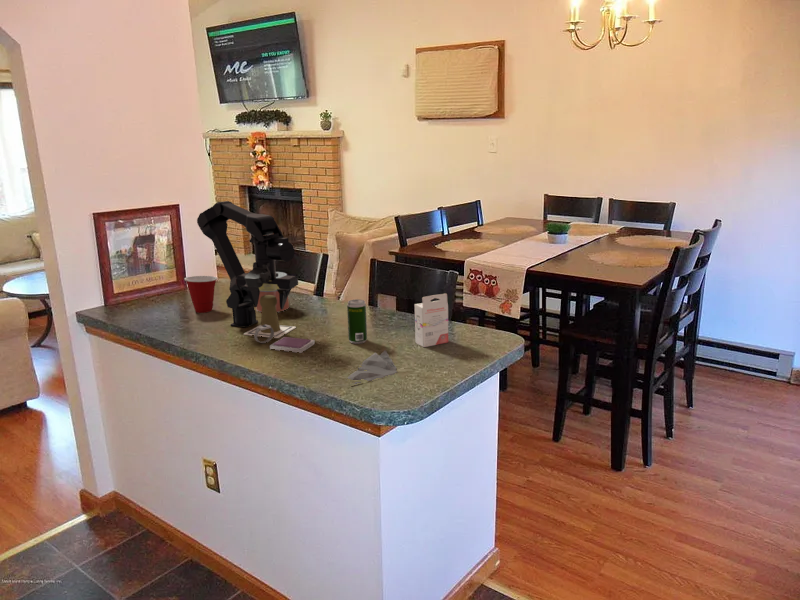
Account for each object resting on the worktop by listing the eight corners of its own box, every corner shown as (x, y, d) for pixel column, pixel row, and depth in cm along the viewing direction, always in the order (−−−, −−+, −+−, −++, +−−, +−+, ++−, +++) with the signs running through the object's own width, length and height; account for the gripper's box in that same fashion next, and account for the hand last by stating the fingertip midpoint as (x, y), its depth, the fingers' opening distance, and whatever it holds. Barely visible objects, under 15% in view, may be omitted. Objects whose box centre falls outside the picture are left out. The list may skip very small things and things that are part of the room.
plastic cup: (227, 308, 220) (223, 275, 217) (202, 316, 211) (199, 281, 208) (205, 304, 226) (202, 272, 222) (181, 312, 217) (177, 278, 214)
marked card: (243, 334, 191) (243, 333, 191) (263, 324, 201) (263, 323, 201) (278, 338, 187) (278, 337, 187) (296, 327, 197) (296, 326, 197)
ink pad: (270, 349, 177) (269, 344, 177) (284, 340, 185) (284, 335, 184) (301, 352, 174) (301, 347, 174) (314, 343, 181) (314, 339, 181)
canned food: (273, 302, 227) (271, 270, 224) (295, 307, 220) (293, 274, 217) (249, 310, 218) (246, 276, 215) (272, 315, 211) (269, 280, 208)
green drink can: (369, 342, 182) (368, 302, 179) (352, 345, 179) (351, 304, 176) (362, 337, 186) (361, 298, 183) (345, 340, 184) (344, 300, 181)
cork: (275, 333, 190) (273, 298, 188) (257, 332, 192) (254, 297, 189) (283, 327, 196) (280, 293, 193) (265, 326, 197) (262, 292, 195)
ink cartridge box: (439, 338, 184) (439, 289, 181) (448, 342, 180) (448, 293, 176) (414, 342, 181) (413, 293, 177) (422, 347, 176) (422, 297, 173)
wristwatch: (258, 346, 180) (257, 329, 179) (253, 344, 182) (251, 327, 181) (276, 340, 185) (275, 324, 183) (270, 339, 186) (269, 322, 185)
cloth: (368, 394, 147) (368, 385, 147) (321, 384, 154) (321, 375, 153) (420, 359, 169) (420, 351, 168) (377, 352, 176) (377, 344, 175)
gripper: (222, 261, 184) (227, 312, 188) (278, 264, 177) (281, 317, 182) (244, 254, 194) (248, 303, 198) (297, 257, 188) (300, 307, 192)
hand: (268, 308), depth 192 cm, fingers open, 9 cm apart
